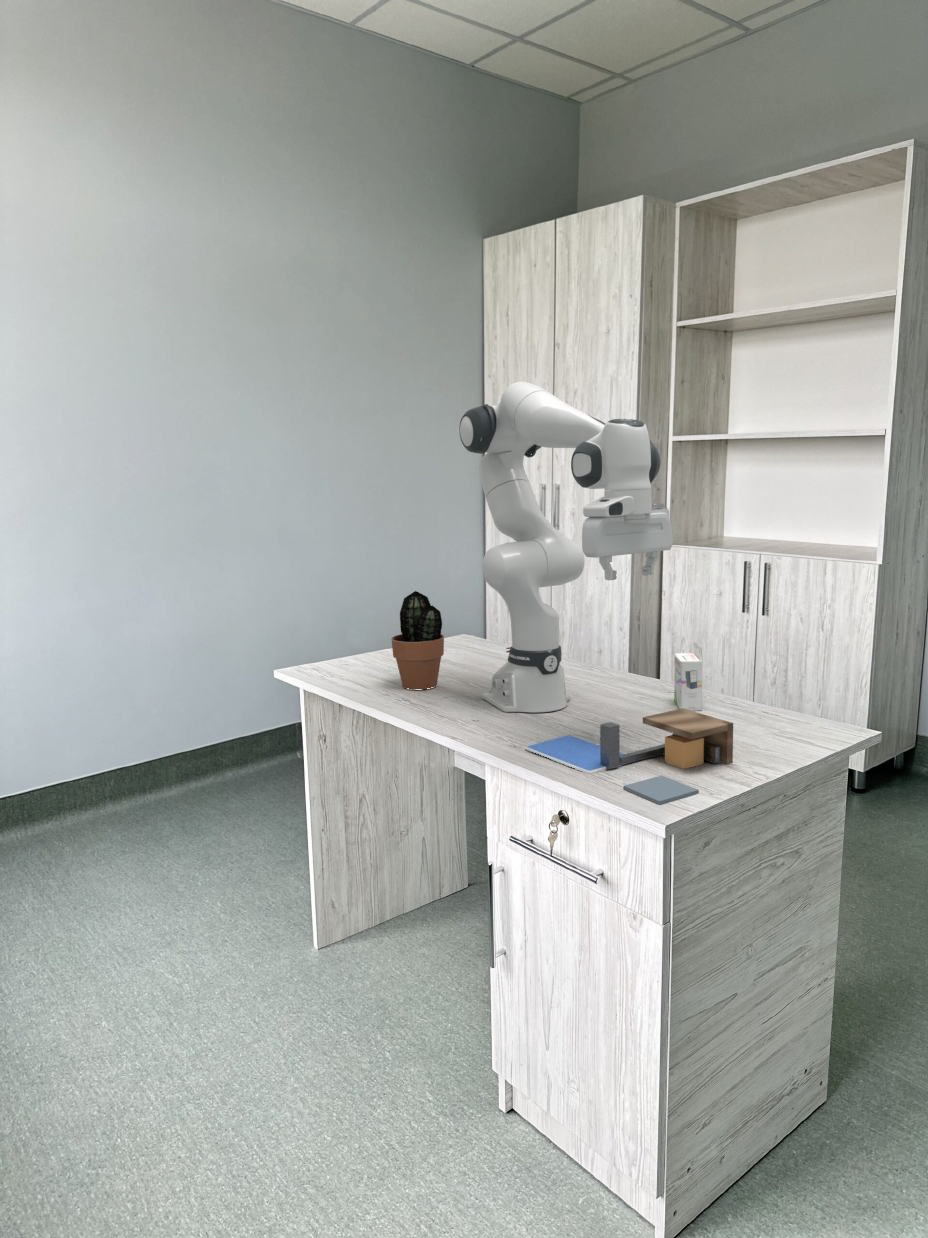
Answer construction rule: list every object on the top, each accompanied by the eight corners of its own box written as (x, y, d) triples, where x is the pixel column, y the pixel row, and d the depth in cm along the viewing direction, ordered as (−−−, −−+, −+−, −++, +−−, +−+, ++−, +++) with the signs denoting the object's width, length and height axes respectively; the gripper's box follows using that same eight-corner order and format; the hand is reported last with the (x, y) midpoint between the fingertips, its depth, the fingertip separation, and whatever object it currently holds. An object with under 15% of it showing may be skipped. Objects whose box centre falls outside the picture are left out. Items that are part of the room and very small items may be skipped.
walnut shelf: (642, 755, 174) (642, 717, 173) (682, 745, 180) (682, 708, 178) (692, 774, 163) (692, 733, 162) (732, 762, 169) (733, 723, 167)
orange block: (664, 762, 170) (665, 736, 170) (684, 757, 173) (684, 732, 172) (684, 769, 166) (684, 743, 165) (703, 763, 169) (703, 738, 168)
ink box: (673, 701, 212) (673, 640, 210) (694, 701, 212) (694, 639, 210) (680, 711, 204) (681, 647, 201) (702, 711, 204) (703, 647, 201)
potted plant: (388, 693, 229) (384, 595, 225) (399, 680, 243) (394, 588, 238) (441, 693, 227) (438, 595, 223) (449, 680, 241) (445, 587, 237)
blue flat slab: (638, 763, 172) (638, 756, 172) (589, 778, 165) (589, 771, 164) (569, 740, 187) (569, 733, 187) (522, 752, 180) (522, 746, 180)
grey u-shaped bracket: (600, 765, 168) (600, 724, 167) (675, 746, 178) (676, 707, 177) (643, 783, 159) (643, 739, 157) (721, 761, 168) (721, 720, 167)
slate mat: (623, 789, 157) (623, 785, 157) (661, 778, 161) (661, 775, 161) (659, 804, 149) (659, 801, 149) (698, 793, 154) (698, 789, 154)
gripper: (656, 502, 179) (658, 571, 181) (575, 508, 169) (578, 581, 171) (679, 502, 174) (680, 573, 176) (597, 507, 163) (599, 583, 165)
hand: (629, 577), depth 173 cm, fingers open, 8 cm apart
